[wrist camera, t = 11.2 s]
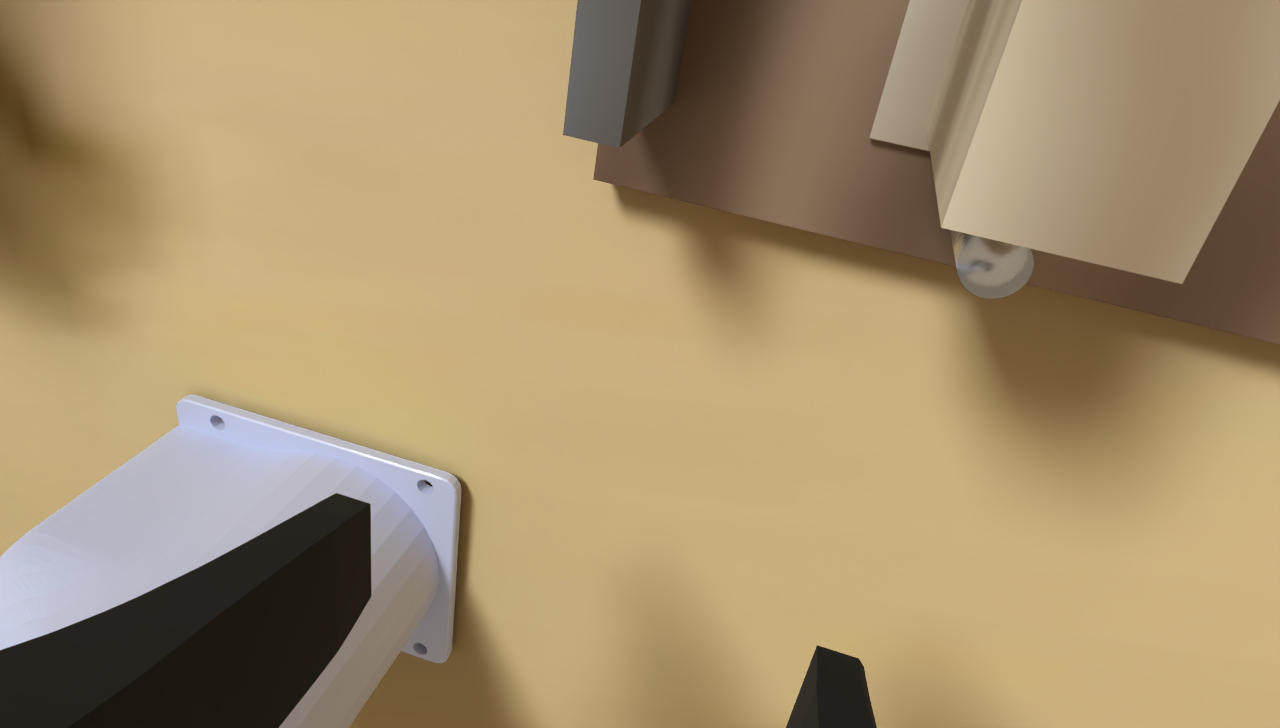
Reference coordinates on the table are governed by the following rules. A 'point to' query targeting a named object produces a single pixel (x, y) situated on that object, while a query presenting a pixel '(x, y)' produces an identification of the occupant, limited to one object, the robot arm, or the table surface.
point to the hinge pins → (991, 265)
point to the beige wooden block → (1102, 124)
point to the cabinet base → (855, 138)
